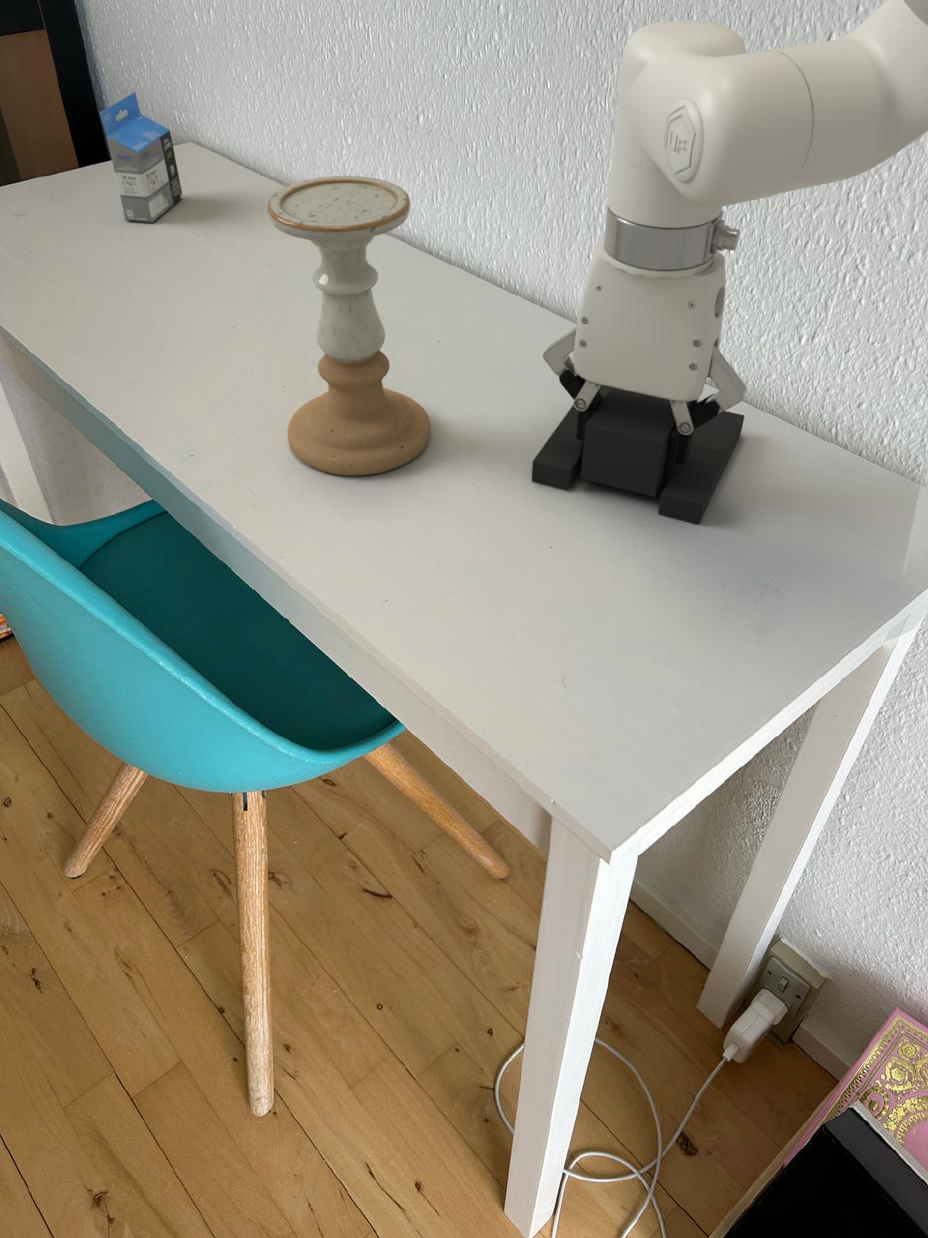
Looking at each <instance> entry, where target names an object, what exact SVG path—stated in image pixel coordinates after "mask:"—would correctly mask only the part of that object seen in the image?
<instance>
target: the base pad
mask: <svg viewBox="0 0 928 1238" xmlns="http://www.w3.org/2000/svg"><path fill="white" fill-rule="evenodd" d="M611 388H614V387H609V386H605V385H603V386H602V388H601V389H600V391H599V393H600V394H601V396H603V399H604V398H605V396H606V395H607V393H608V392H609V390H610V389H611ZM615 389H618V388H615ZM620 390H623V389H620ZM625 391H627V390H625ZM629 392H632V391H629ZM634 393H636V392H634ZM638 394H641V393H638ZM643 395H646V394H643ZM647 396H650V395H647ZM652 397H655V396H652ZM656 398H659V397H656ZM661 399H664V398H661ZM666 400H669V399H666ZM578 412H579V411H578V410H577V409H576V408H575V407H574V403H573V404H572V405H571V407H570V408H569V410H568V411H567V413H566V414H565V415H564V417H563V418H562V419H561V421H560V422H559V423H558V425H557V427H556V428H555V429H554V430H553V432H552V434H551V435H550V436H549V438H548V439H547V441H546V442H545V443H544V445H543V446H542V448H540V450H539V452H538V453H537V454H536V456H535V457H534V459H533V460H532V466H531V467H532V468H531V482H533V483H537V484H540V485H541V484H542V485H546V486H549V487H553V488H557V489H560V490H564V491H570V490H571V488H572V487H573V485H574V484H575V482H576V480H578V478H579V476H580V475H581V470H582V459H583V456H582V455H580V451H581V440H579V439H577V438H576V435H577V423H578ZM744 421H745V415H744V414H740V413H736V412H731V411H727V410H726V411H723V412H721V413H719V414H718V415H717V416H716V417H715V418H713V419H712V420H710V421H708V422H706V423H704V424H703V425H701V426H699V427H697V428H696V429H694V432H693V437H692V443H691V448H690V453H689V457H688V460H687V462H686V464H685V465H684V464H680V463H679V464H678V466H677V468H676V470H675V472H674V474H673V476H672V477H669V479H668V480H667V483H666V484H665V486H664V488H663V489H662V492H661V493H660V499H659V506H658V515H660V516H665V517H668V518H672V519H675V520H680V521H684V522H686V523H687V522H688V523H692V524H695V525H699V524H701V521H702V519H703V517H704V514H705V513H706V510H707V509H708V506H709V504H710V502H711V500H712V497H713V495H714V493H715V491H716V490H717V486H718V484H719V482H720V480H721V478H722V476H723V473H724V472H725V470H726V467H727V465H728V463H729V461H730V458H731V457H732V454H733V452H734V450H735V449H736V446H737V443H738V442H739V439H740V437H741V434H742V431H743V426H744Z"/></svg>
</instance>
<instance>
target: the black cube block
mask: <svg viewBox="0 0 928 1238" xmlns="http://www.w3.org/2000/svg"><path fill="white" fill-rule="evenodd" d="M674 426H675V419H674V415H673V412H672V408H671V404H670V401H669V400H666V399H661V398H656V397H652V396H647V395H643V394H638V393H634V392H629V391H625V390H620V389H615V388H611V389H610V390H609V392H608V393H607V395H606V396H605V398H604V399H603V400H602V402H601V403H600V405H599V406H598V408H597V409H596V411H595V412H594V414H593V415H592V417H591V418H590V419H589V421H588V422H587V424H586V427H585V438H584V449H583V459H582V470H581V473H580V479H581V480H585V481H590V482H594V483H599V484H602V485H606V486H609V487H614V488H617V489H620V490H621V489H622V490H626V491H630V492H633V493H638V494H642V495H646V496H650V497H654V498H655V497H657V495H658V492H659V491H660V489H661V487H662V485H663V483H664V481H665V480H666V478H667V476H665V474H663V472H664V466H665V460H666V454H667V447H668V441H669V436H670V433H671V431H672V429H673V427H674Z"/></svg>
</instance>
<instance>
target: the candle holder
mask: <svg viewBox="0 0 928 1238" xmlns="http://www.w3.org/2000/svg"><path fill="white" fill-rule="evenodd" d="M411 205H412V204H411V199H410V196H409V194H408V193H407V191H406V190H404V189H403V188H402V187H401V186H399V185H396V184H395V183H394V182H393V183H392V182H390V181H387V180H383V179H380V178H374V177H368V176H360V175H334V176H322V177H315V178H309V179H305V180H301V181H298V182H295V183H292V184H289V185H287V186H285V187H282V188H281V189H279V190H278V191H277V192H275V193H274V194H273V195H272V196H271V197H270V198H269V200H268V201H267V205H266V206H267V216H268V219H269V220H270V222H271V224H272V226H273V227H274V228H275V229H277V230H278V231H280V232H282V233H283V234H285V235H288V236H290V237H291V236H292V237H294V238H298V239H303V240H307V241H310V242H311V244H313V245H314V246H315V247H317V249H318V251H319V253H320V257H321V259H320V260H321V262H320V265H319V266H318V268H317V269H316V270H315V271H314V272H313V274H312V282H313V284H314V287H316V288H317V289H318V290H319V291H321V308H320V316H319V320H318V325H317V329H316V343H317V344H318V347H319V348H320V350H321V351H322V352H323V353H324V355H323V356H321V358H320V359H319V361H318V364H317V372H318V375H319V376H320V378H321V379H322V380H324V381H325V382H326V383H327V385H328V386H327V388H328V389H327V391H326V392H324V393H322V394H320V395H318V396H317V397H314V398H311V399H310V400H309V401H307V402H306V403H304V404H303V405H302V406H301V407H299V408H298V409H297V410H296V411H295V413H294V414H293V415H292V417H291V418H290V419H289V423H288V426H287V441H288V444H289V447H290V449H291V451H292V452H293V454H294V456H295V457H297V458H298V459H299V460H300V461H301V462H302V463H304V464H305V465H306V466H309V467H310V468H313V469H315V470H318V471H321V472H323V473H324V472H325V473H328V474H333V475H340V476H367V475H376V474H380V473H386V472H388V471H391V470H395V469H397V468H399V467H402V466H404V465H406V464H408V463H409V462H411V461H413V460H414V459H416V458H417V457H418V456H419V455H420V454H421V453H422V452H423V451H424V450H425V448H426V447H427V445H428V443H429V440H430V438H431V437H430V436H431V423H430V422H431V421H430V418H429V415H428V414H427V412H426V410H425V408H424V407H423V406H422V405H421V404H420V403H418V402H417V401H416V400H415V399H413V398H411V397H409V396H408V395H405V394H403V393H400V392H398V391H395V390H392V389H389V388H386V387H384V386H383V381H382V380H383V379H384V378H385V376H387V374H388V373H389V370H390V361H389V359H388V357H387V355H385V353H384V352H382V351H381V349H382V347H383V345H384V343H385V340H386V331H385V327H384V324H383V322H382V319H381V316H380V314H379V312H378V310H377V306H376V303H375V299H374V296H373V295H374V294H373V290H372V288H374V287H375V286H376V285H377V283H378V281H379V272H378V270H377V269H376V268H375V267H374V266H373V265H372V264H371V263H369V261H368V259H367V249H368V246H369V244H370V243H371V242H372V241H373V240H374V239H375V237H376V236H381V235H383V234H386V233H388V232H391V231H393V230H396V229H397V228H399V227H400V226H401V225H402V224H404V223H405V222H406V221H407V220H408V218H409V215H410V213H411Z"/></svg>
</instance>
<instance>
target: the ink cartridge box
mask: <svg viewBox="0 0 928 1238" xmlns="http://www.w3.org/2000/svg"><path fill="white" fill-rule="evenodd" d="M120 111H122V112H125V111H126V112H127V113H126V115H125V116H123V117H122V118H120V119H118V120H117V116H119V115H120ZM99 116H100V120H101V123H102V126H103V128H104V133H105V136H106V137H105V138H106V140H107V145H108V150H109V154H110V157H111V162H112V167H113V171H114V176H115V180H116V184H117V189H118V193H119V198H120V203H121V207H122V212H123V215H124V220H125V221H128V222H138V223H147V224H152V223H154V222H155V221H156V220H157V219H159V218H160V217H161V216H162V215H164V214H165V213H166V212H167V211H169V210H170V209H171V208H172V207H173V206H174V205H175V204H177V203H178V202H179V201H181V200H182V199H183V198H184V196H183V190H182V186H181V181H180V176H179V170H178V166H177V161H176V154H175V150H174V149H175V148H174V145H173V140H172V133H171V130H170V129H169V128H167V127H166V126H163V125H161V124H160V123H159V122H156V121H154V120H153V119H151V118H148V117H147V116H146V115H143V114H142V112H141V110H140V105H139V101H138V98H137V94H136V92H135V91H134V92H132V93H130V94H129V95H127V96H126V97H124V98H122V99H120V100H118V101H117V102H115V103H113V104H112V105H110V106H108V107H107V108H105V109H104V110H102V111H100V112H99Z"/></svg>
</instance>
